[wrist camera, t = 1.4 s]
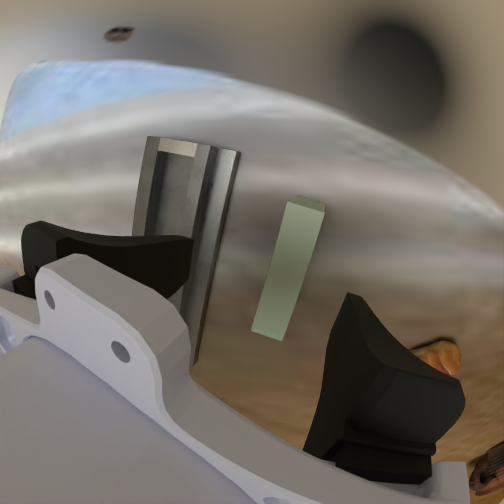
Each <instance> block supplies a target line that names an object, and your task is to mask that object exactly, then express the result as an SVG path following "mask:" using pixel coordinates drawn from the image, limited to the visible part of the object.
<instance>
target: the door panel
mask: <svg viewBox="0 0 504 504" xmlns="http://www.w3.org/2000/svg"><path fill="white" fill-rule="evenodd" d="M325 206H326V204H325V203H322V202H319V201H315V200H312V199H309V198H305V197H302V196H297V197H295V198H293V199H292V200H290V201H288V202H287V205H286V209H285V213H284V216H283V220H282V223H281V227H280V231H279V234H278V238H277V242H276V245H275V249H274V252H273V256H272V259H271V263H270V266H269V270H268V273H267V277H266V280H265V284H264V287H263V291H262V294H261V298H260V301H259V305H258V308H257V311H256V315H255V318H254V322H253V325H252V328H251V331H253V332H256V333H259V334H262V335H265V336H267V337H270V338H273V339H276V340H279V341H282V340H283V337H284V334H285V331H286V329H287V326H288V323H289V321H290V318H291V315H292V312H293V309H294V307H295V304H296V301H297V298H298V295H299V292H300V289H301V286H302V284H303V281H304V278H305V275H306V272H307V269H308V266H309V262H310V259H311V256H312V253H313V250H314V247H315V244H316V241H317V237H318V234H319V231H320V228H321V224H322V221H323V218H324V214H325Z"/></svg>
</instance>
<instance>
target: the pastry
mask: <svg viewBox="0 0 504 504" xmlns="http://www.w3.org/2000/svg"><path fill="white" fill-rule="evenodd" d="M409 351H410V352H412V353H413V354H414V355H415V356H417V357H418V358H420V359H421V360H422V361H424V362H425V363H427V364H429V365H430V366H432V367H434V368H435V369H437V370H439V371H441V372H443V373H445V374H447V375H449V376H451V377H454V375H455V373H456V372H457V371H458V370H459V366H460V362H461V359H460V357H461V355H460V351H459V348H458V346H457V345H456V344H454V343H451V342H448V341H438V342H435V343H433V344H431V345H429V346H426V347H421V348H418V349H412V350H409Z"/></svg>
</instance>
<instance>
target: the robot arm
mask: <svg viewBox="0 0 504 504" xmlns="http://www.w3.org/2000/svg"><path fill="white" fill-rule="evenodd" d="M193 245H194V239H191V238H188V237H185V236H181V235H154V236H107V235H98V234H91V233H84V232H79V231H75V230H70V229H67V228H63V227H60V226H57V225H53V224H50V223H47V222H45V221H38V222H34V223H31V224H28V225H26V226H25V228H24V230H23V233H22V238H21V247H22V257H23V264H24V271H25V274H26V275H23V276H21V277H20V276H19V274H18V272H17V271H16V270H15V269H14V268H13V267H12V266H11V265H10V264H9V263H8V262H7V263H5V264H2V265H0V504H470V495H469V485H468V476H467V469H466V462H454V461H441V462H437V463H434V464H431V456H433V455H434V454H435V453H436V442H437V441H438V440H439V439H440V438H441V437H442V436H443V435H444V434H445V433H446V432H447V431H448V430H449V429H450V428H451V427H452V426H453V425H454V424H455V422H456V421H457V420H458V419H459V417H460V416H461V414H462V412H463V410H464V408H465V396H464V393H463V390H462V387H461V384H460V381H459V380H458V379H456V378H454V377H451V376H449V375H447V374H445V373H443V372H441V371H439V370H437V369H435V368H434V367H432V366H430V365H429V364H427V363H425V362H424V361H422V360H421V359H420V358H418V357H417V356H415V355H414V354H413V353H412V352H410V351H409V350H408V349H406V348H405V347H404V346H403V345H402V344H401V343H400V342H399V341H398V340H397V339H396V338H394V337H393V336H392V335H391V333H390V332H389V331H388V330H387V329H386V328H385V327H384V325H383V324H382V323H381V322H380V321H379V319H378V318H377V317H376V315H375V314H374V313H373V311H372V310H371V309H370V307H369V306H368V304H367V303H366V302H365V301H364V299H363V298H362V297H361V296H358V295H355V294H352V293H349V292H347V295H346V297H345V300H344V302H343V304H342V307H341V309H340V311H339V314H338V316H337V318H336V321H335V323H334V325H333V327H332V330H331V333H330V336H329V340H328V344H327V348H326V356H325V365H324V373H323V381H322V388H321V394H320V398H319V402H318V405H317V409H316V412H315V415H314V418H313V422H312V425H311V428H310V431H309V434H308V436H307V439H306V442H305V445H304V447H303V450H301V449H299V448H297V447H295V446H293V445H291V444H289V443H288V442H286V441H284V440H282V439H281V438H279V437H277V436H275V435H274V434H272V433H270V432H269V431H267V430H265V429H264V428H262V427H260V426H259V425H257V424H255V423H254V422H252V421H251V420H249V419H248V418H246V417H244V416H243V415H241V414H240V413H238V412H237V411H235V410H234V409H232V408H231V407H229V406H228V405H226V404H225V403H224V402H222V401H221V400H219V399H218V398H216V397H215V396H214V395H212V394H211V393H210V392H208V391H207V390H205V389H204V388H203V387H201V386H200V385H199V384H197V383H196V382H195V381H194V380H193V379H192V378H191V376H190V374H189V361H190V353H191V344H190V338H189V332H188V327H187V325H186V323H185V322H184V320H183V319H182V317H181V316H180V314H179V313H178V311H177V309H176V308H175V306H174V305H173V304H172V303H171V302H169V301H168V300H167V299H168V298H170V297H171V296H172V295H173V294H175V293H176V292H177V291H178V290H179V289H180V288H181V287H182V286H183V285H184V283H185V282H186V281H187V280H188V279H189V273H190V266H191V259H192V252H193Z"/></svg>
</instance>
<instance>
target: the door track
mask: <svg viewBox="0 0 504 504" xmlns="http://www.w3.org/2000/svg"><path fill="white" fill-rule="evenodd" d="M239 157H240V152H236V151H232V150H227V149H222V148H217V147H213V146H209V145H203V144H198V143H192V142H186V141H180V140H174V139H167V138H160V137H153V136H148V137H147V142H146V147H145V151H144V156H143V162H142V167H141V173H140V178H139V185H138V191H137V198H136V205H135V212H134V220H133V229H132V236H154V235H181V236H185V237H188V238H191V239H194V245H193V252H192V259H191V266H190V273H189V279H188V280H187V281H186V282H185V283H184V285H183V286H182V287H181V288H180V289H179V290H178V291H177V292H176V293H175V294H173V295H172V296H171V297H170V298H168V299H167V300H168V301H169V302H171V303H172V304H173V305H174V306H175V308H176V309H177V311H178V313H179V314H180V316H181V317H182V319H183V320H184V322H185V323H186V325H187V327H188V332H189V338H190V344H191V353H190V361H189V366H190V367H193V366H194V365H195V363H196V362H197V357H198V351H199V346H200V340H201V335H202V329H203V324H204V319H205V313H206V308H207V303H208V298H209V293H210V288H211V283H212V278H213V273H214V268H215V263H216V258H217V254H218V249H219V244H220V240H221V235H222V230H223V226H224V221H225V217H226V213H227V208H228V204H229V199H230V195H231V191H232V186H233V182H234V178H235V174H236V170H237V165H238V161H239Z"/></svg>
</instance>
